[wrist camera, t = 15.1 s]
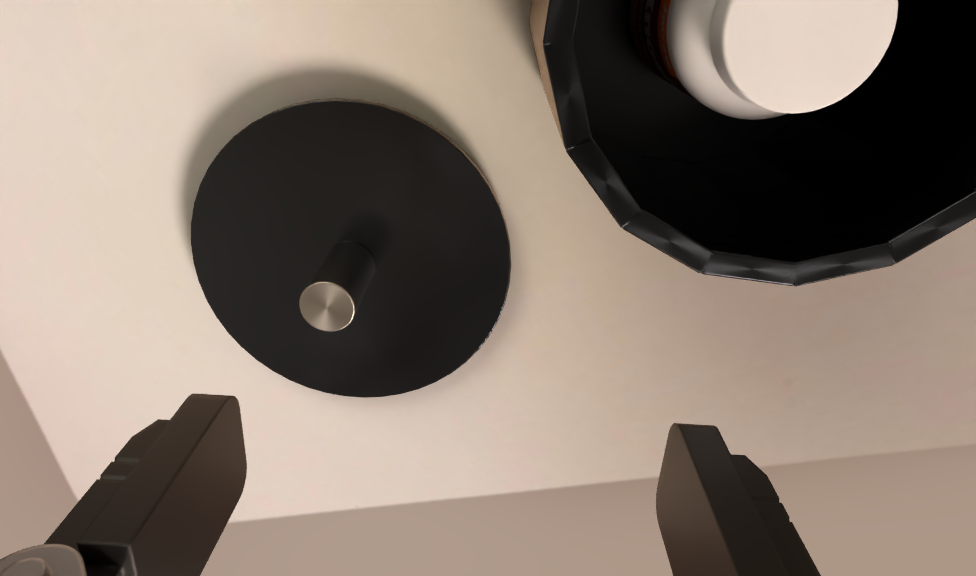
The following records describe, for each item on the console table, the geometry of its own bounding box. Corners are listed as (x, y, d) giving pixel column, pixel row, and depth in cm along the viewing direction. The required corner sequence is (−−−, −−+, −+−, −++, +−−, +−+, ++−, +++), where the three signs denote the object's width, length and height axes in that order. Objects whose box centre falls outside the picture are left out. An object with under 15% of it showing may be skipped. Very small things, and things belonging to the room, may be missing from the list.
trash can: (470, 73, 29) (447, 127, 18) (665, -287, 24) (807, -530, 13) (728, 228, 32) (847, 360, 21) (955, -62, 27) (1285, -97, 15)
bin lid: (159, 303, 35) (95, 362, 29) (270, 28, 29) (215, 38, 23) (421, 428, 38) (407, 502, 32) (570, 202, 32) (584, 247, 26)
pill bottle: (597, -4, 28) (649, 3, 18) (727, -109, 26) (866, -169, 16) (675, 115, 30) (762, 181, 20) (801, 24, 28) (966, 45, 18)
